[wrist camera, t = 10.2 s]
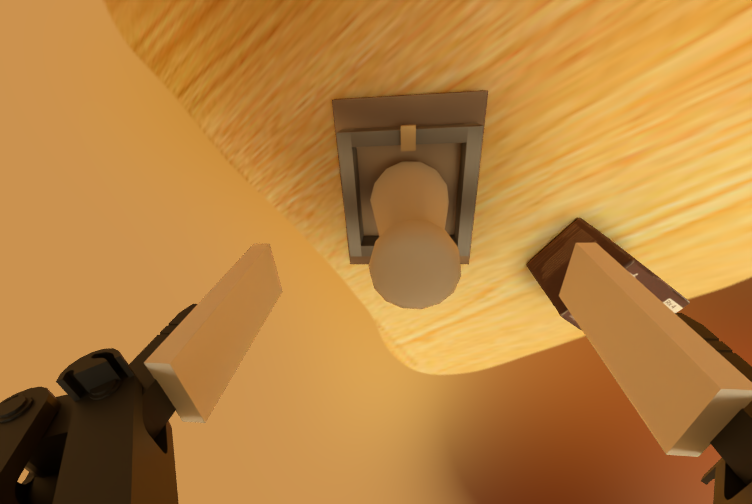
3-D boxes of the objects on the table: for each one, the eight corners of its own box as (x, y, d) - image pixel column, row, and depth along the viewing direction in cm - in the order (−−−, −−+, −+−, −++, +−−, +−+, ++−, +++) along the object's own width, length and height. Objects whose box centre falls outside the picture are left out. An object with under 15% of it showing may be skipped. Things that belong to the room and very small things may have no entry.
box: (523, 263, 28) (557, 316, 22) (578, 214, 25) (636, 258, 19) (568, 295, 29) (613, 353, 23) (625, 252, 27) (694, 304, 20)
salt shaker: (430, 230, 26) (453, 342, 15) (366, 214, 26) (340, 316, 14) (454, 164, 23) (506, 240, 12) (383, 145, 23) (366, 205, 12)
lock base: (334, 99, 23) (323, 101, 19) (484, 90, 21) (498, 91, 18) (352, 258, 29) (345, 279, 26) (466, 258, 28) (474, 280, 25)
